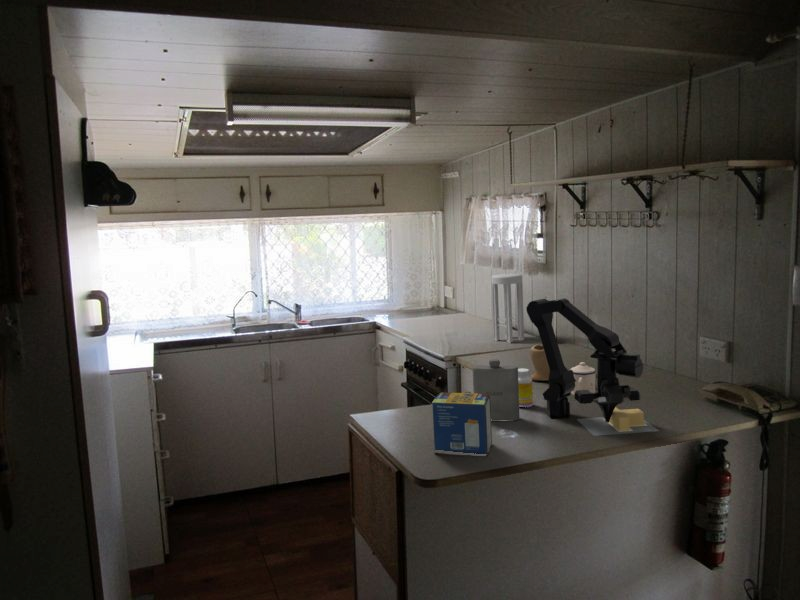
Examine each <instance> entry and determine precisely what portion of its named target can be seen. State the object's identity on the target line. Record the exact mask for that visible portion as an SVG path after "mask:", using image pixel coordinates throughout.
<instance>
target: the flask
mask: <svg viewBox="0 0 800 600" xmlns="http://www.w3.org/2000/svg"><path fill="white" fill-rule="evenodd" d="M471 368H472V386H473V387H472V389H473V391H472V393H478V394H490V408H491V419H492V420H516V421H518V420H520V408H519V386H518V369H519V367H518V366H517V365H510V364H509V365H501V361H500V359H495V358H493V359H490V360H489V361H488V365H487V364H477V365H473V366H472V367H471ZM517 419H518V420H517Z"/></svg>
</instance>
